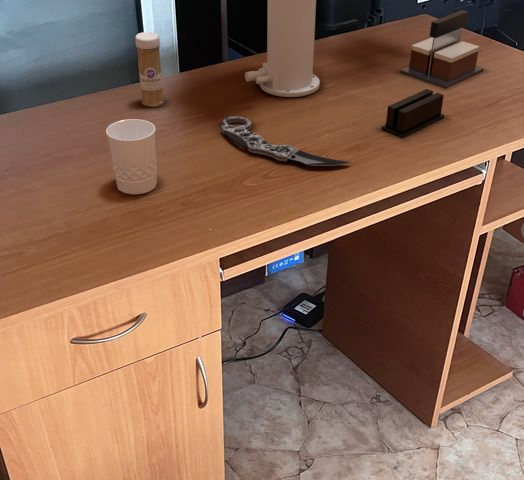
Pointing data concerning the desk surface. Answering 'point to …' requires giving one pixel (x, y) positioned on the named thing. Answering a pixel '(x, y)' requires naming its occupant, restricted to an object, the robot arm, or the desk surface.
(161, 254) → the desk surface
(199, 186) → the desk surface
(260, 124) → the desk surface
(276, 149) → the knife
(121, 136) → the white cup
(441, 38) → the plate
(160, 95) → the sprinkles bottle
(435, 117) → the stand
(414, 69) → the cake
